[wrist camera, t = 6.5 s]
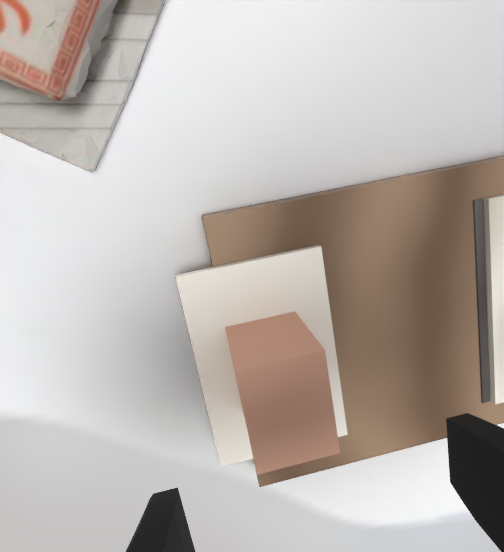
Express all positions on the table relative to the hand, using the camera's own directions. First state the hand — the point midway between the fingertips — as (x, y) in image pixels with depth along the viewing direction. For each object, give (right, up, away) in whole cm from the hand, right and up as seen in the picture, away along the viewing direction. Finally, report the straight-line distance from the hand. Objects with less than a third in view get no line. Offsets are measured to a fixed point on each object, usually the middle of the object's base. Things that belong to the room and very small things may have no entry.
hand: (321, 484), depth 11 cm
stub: (-1, +2, +7) cm, 8 cm away
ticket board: (+7, +4, +10) cm, 13 cm away
